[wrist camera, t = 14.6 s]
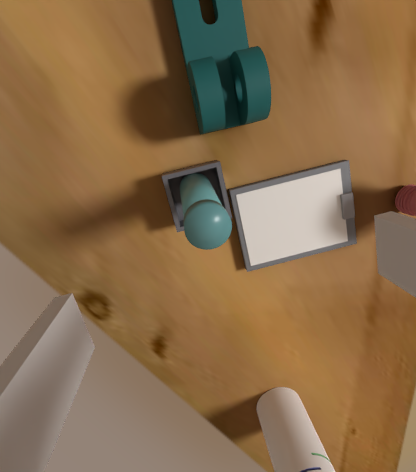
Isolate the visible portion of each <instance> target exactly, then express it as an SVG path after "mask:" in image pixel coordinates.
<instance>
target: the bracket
mask: <svg viewBox="0 0 416 472" xmlns="http://www.w3.org/2000/svg"><path fill="white" fill-rule="evenodd" d="M212 3H213V8H214V14H215V20H216V22H215V23H214V24H212V25H209V24H206V23H205V22H204V21H203V19H202V15H201V10H200V4H199V0H172V5H173V10H174V14H175V19H176V24H177V28H178V33H179V38H180V42H181V47H182V52H183V57H184V61H185V66H186V71H187V75H188V80H189V85H190V89H191V94H192V99H193V103H194V108H195V113H196V118H197V122H198V127H199V132H200V134H205V133H209V132H213V131H218V130H222V129H227V128H231V127H236V126H240V125H244V124H249V123H253V122H257V121H261V120H264V119H267V117H268V116H269V112H270V107H271V85H270V77H269V71H268V66H267V62H266V59H265V56H264V54H263V52H262V50H261V48H260V47H258V46H256V47H251V48H249V46H248V40H247V33H246V27H245V20H244V14H243V7H242V1H241V0H212Z"/></svg>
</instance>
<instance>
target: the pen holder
mask: <svg viewBox="0 0 416 472" xmlns="http://www.w3.org/2000/svg"><path fill="white" fill-rule="evenodd" d="M195 172H199V173H201V174H203V175H205V176H206V177H207V178H208V179H209V181H210V183H211V185H212V187H213V189H214V191H215V193H216V195H217V196H218V198H219V200H220V202H221V204H222V206H223V207H224V208H225V209H226V211H227V213H228V215H229V217H230V219H231V218H232V215H231V210H230V205H229V201H228V196H227V192H226V187H225V183H224V178H223V174H222V169H221V164H220V161H217V160H214V161H210V162H206V163H202V164H198V165H194V166H190V167H186V168H182V169H178V170H174V171H170V172H166V173H163V174H162V179H163V183H164V187H165V190H166V194H167V197H168V201H169V205H170V208H171V212H172V215H173V219H174V222H175V226H176V230H177V232H180V231H184V223H183V220H184V215H183V209H182V202H181V196H180V183H181V181H182V179H183V177H184V175H187V174H191V173H195Z"/></svg>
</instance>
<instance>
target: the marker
mask: <svg viewBox="0 0 416 472" xmlns="http://www.w3.org/2000/svg"><path fill="white" fill-rule="evenodd" d="M180 196H181V202H182V209H183V215H184V220H183V223H184V230H185V235H186V237H187V239H188V241H189V242H190V243H191V244H192V245H194V246H195V247H197V248H200V249H214V248H217V247H219V246H221V245H222V244H223V243H225V242H226V240H227V239H228V238H229V236H230V234H231V230H232V222H231V219H230V217H229V215H228V213H227V211H226V209H225V208H224V207H223V206H222V204H221V202H220V200H219V198H218V196H217V195H216V193H215V191H214V189H213V187H212V185H211V183H210V181H209V179H208V178H207V177H206V176H205V175H203V174H201V173H199V172H195V173H191V174H187V175H184V177H183V179H182V181H181V183H180Z"/></svg>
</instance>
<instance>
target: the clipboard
mask: <svg viewBox="0 0 416 472" xmlns="http://www.w3.org/2000/svg"><path fill="white" fill-rule="evenodd" d="M228 190H229V195H230V199H231V204H232V208H233V213H234V218H235V222H236V227H237V231H238V236H239V241H240V245H241V250H242V255H243V259H244V264H245V268H246V270H247V272H248V271H252V270H256V269H260V268H264V267H268V266H271V265H275V264H279V263H283V262H287V261H291V260H295V259H299V258H302V257H306V256H310V255H314V254H318V253H322V252H326V251H329V250H333V249H337V248H341V247H345V246H349V245H353V244H356V243H357V241H356V230H355V220H354V217H355V210H354V199H353V192H352V188H351V177H350V167H349V160H342V161H338V162H334V163H330V164H326V165H322V166H318V167H314V168H310V169H306V170H302V171H298V172H294V173H290V174H286V175H282V176H278V177H274V178H270V179H267V180H263V181H259V182H255V183H251V184H247V185H243V186H239V187H235V188H231V189H228Z"/></svg>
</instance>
